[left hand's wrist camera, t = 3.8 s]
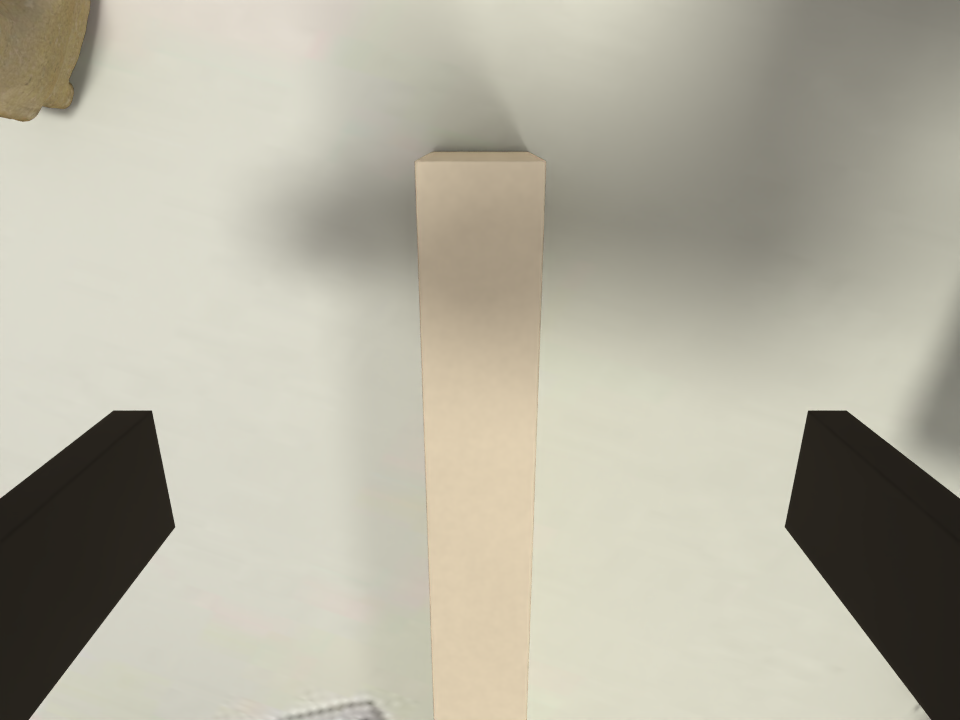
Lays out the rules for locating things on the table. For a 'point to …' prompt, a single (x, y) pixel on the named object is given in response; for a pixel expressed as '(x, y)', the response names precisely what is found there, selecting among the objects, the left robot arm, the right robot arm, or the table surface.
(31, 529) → the left robot arm
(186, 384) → the table surface
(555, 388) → the table surface
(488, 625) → the post
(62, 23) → the sculpture
